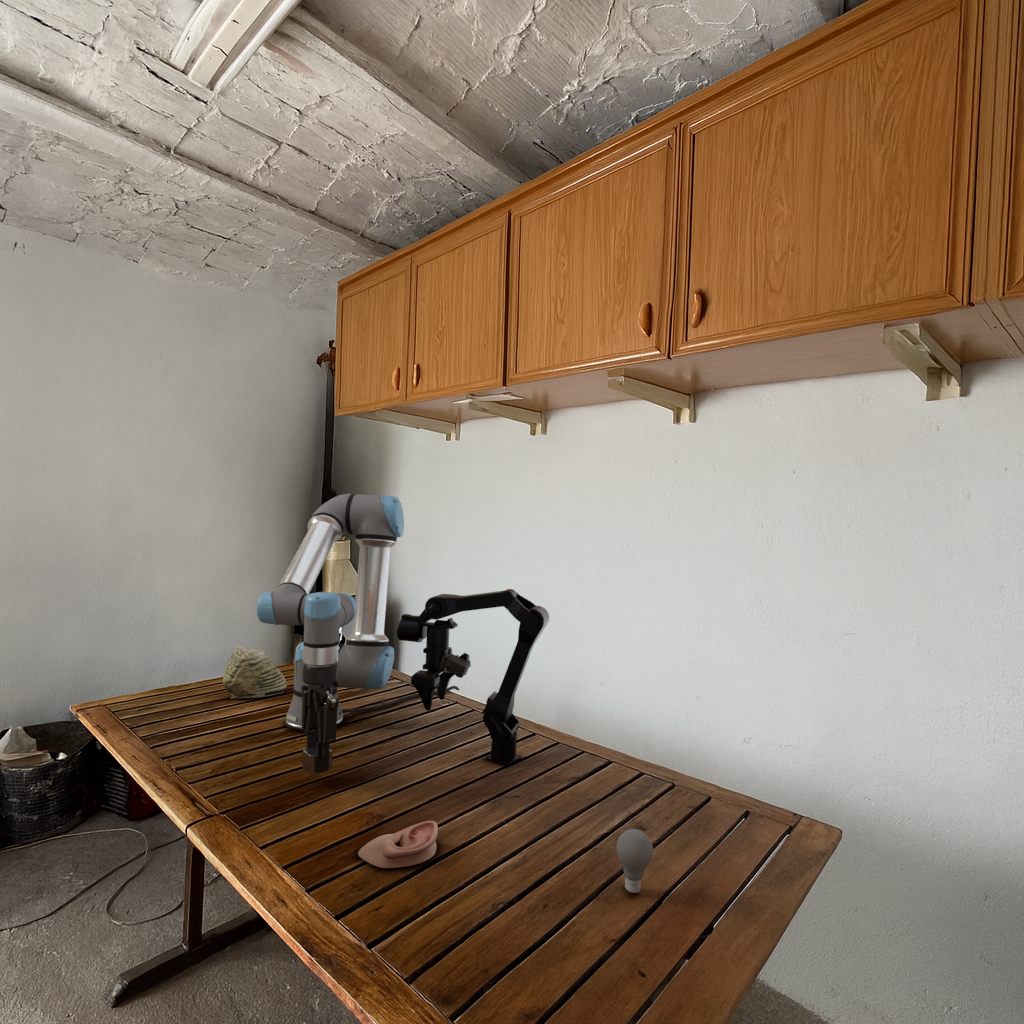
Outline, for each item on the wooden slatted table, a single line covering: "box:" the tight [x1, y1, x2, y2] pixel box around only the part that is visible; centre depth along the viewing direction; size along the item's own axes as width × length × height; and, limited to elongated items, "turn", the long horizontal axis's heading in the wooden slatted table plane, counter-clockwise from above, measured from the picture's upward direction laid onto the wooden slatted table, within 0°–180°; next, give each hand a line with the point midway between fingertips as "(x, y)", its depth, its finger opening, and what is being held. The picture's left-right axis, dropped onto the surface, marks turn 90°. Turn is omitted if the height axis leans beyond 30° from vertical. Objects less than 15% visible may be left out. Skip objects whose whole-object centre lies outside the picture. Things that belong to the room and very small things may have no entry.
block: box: [301, 747, 334, 776], centre depth 141 cm, size 5×4×4 cm
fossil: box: [222, 646, 288, 699], centre depth 198 cm, size 9×18×15 cm, turn 132°
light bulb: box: [615, 828, 654, 894], centre depth 106 cm, size 6×6×10 cm
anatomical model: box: [357, 820, 439, 869], centre depth 114 cm, size 13×4×12 cm
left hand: (317, 767), depth 141 cm, fingers closed on block, 4 cm apart
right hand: (435, 704), depth 162 cm, fingers open, 9 cm apart
